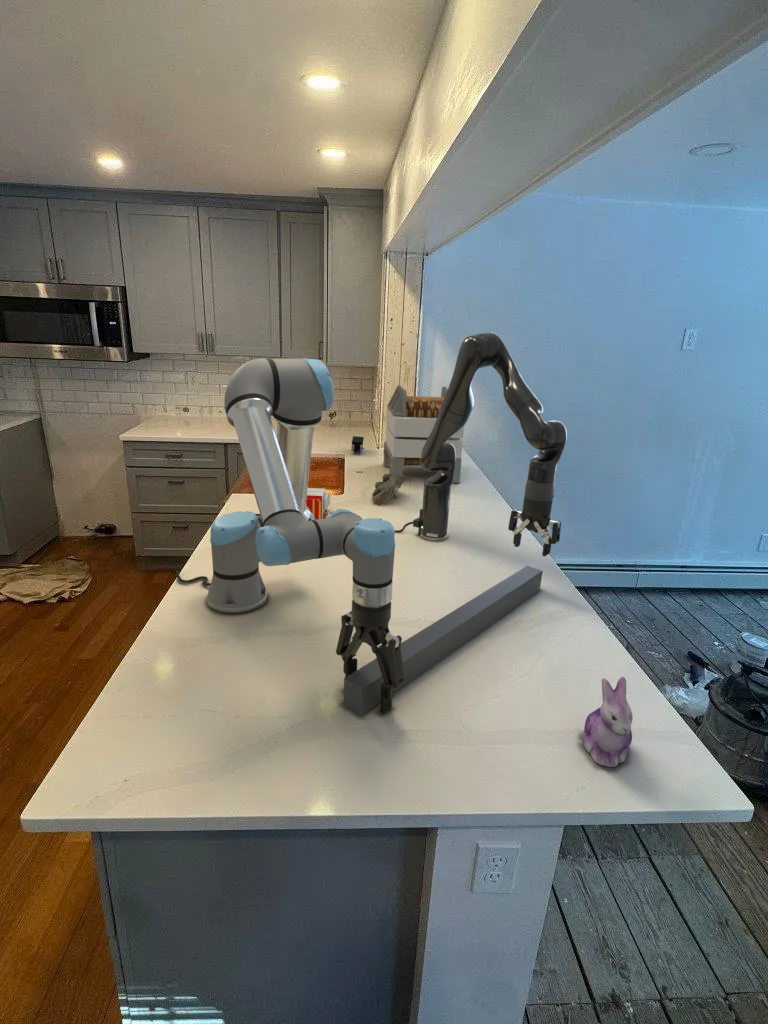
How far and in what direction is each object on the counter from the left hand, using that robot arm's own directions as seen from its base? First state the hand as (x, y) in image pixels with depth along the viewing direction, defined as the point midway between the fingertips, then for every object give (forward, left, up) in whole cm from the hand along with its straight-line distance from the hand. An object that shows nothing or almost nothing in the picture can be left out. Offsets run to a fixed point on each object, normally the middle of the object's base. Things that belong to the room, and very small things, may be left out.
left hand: (367, 698), depth 115 cm
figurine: (+39, +24, 0) cm, 46 cm away
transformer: (-111, +130, 0) cm, 171 cm away
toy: (-89, +50, 0) cm, 103 cm away
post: (-3, +33, 0) cm, 33 cm away
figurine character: (-160, +132, 0) cm, 207 cm away
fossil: (-93, +92, 0) cm, 130 cm away
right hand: (-7, +66, +13) cm, 67 cm away
